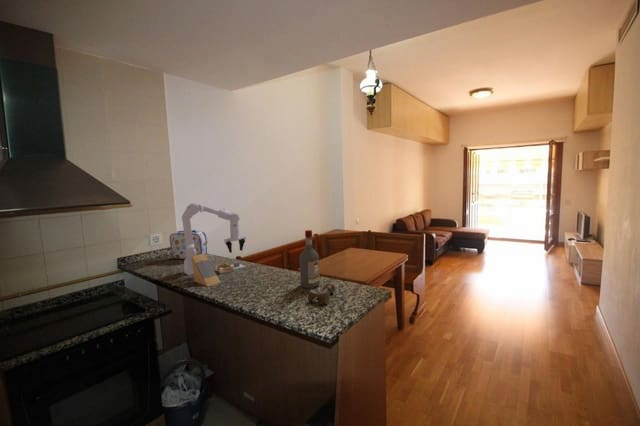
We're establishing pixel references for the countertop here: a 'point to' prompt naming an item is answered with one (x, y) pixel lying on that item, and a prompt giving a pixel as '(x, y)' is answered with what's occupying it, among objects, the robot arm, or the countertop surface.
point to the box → (224, 268)
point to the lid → (237, 265)
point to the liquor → (309, 264)
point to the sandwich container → (203, 271)
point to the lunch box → (180, 245)
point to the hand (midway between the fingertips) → (235, 251)
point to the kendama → (321, 294)
